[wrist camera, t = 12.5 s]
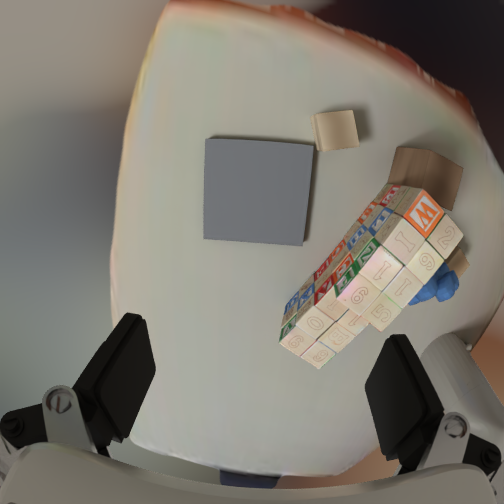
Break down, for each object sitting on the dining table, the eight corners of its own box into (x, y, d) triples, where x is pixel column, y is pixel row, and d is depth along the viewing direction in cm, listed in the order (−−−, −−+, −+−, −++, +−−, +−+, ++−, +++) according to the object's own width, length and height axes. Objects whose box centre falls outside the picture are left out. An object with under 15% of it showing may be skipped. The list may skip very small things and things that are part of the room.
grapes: (361, 279, 36) (377, 324, 24) (373, 233, 33) (398, 262, 22) (429, 292, 34) (462, 335, 22) (443, 249, 31) (484, 281, 20)
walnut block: (426, 160, 28) (463, 168, 21) (417, 195, 30) (451, 211, 23) (396, 146, 28) (430, 150, 21) (387, 184, 30) (418, 196, 22)
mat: (311, 145, 29) (313, 145, 28) (301, 242, 34) (302, 246, 32) (207, 138, 29) (205, 138, 28) (205, 235, 34) (203, 238, 33)
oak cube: (456, 254, 33) (469, 265, 29) (440, 272, 34) (453, 284, 30) (445, 238, 32) (460, 248, 28) (429, 257, 33) (442, 269, 30)
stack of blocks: (318, 328, 37) (317, 387, 26) (284, 304, 37) (272, 359, 26) (419, 213, 30) (466, 235, 18) (386, 181, 30) (424, 187, 18)
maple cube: (342, 113, 27) (352, 109, 23) (348, 145, 29) (359, 146, 25) (309, 117, 28) (315, 113, 24) (316, 150, 29) (323, 151, 26)
